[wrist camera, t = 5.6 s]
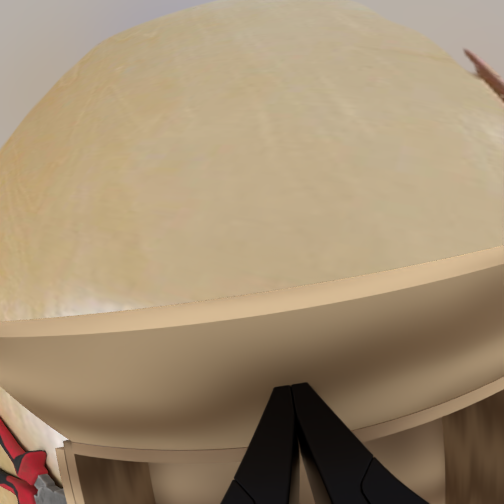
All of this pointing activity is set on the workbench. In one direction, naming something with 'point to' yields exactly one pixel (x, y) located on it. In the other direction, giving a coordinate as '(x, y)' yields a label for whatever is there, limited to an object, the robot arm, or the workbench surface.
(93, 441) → the far flap
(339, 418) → the robot arm
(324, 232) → the workbench surface
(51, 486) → the pliers
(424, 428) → the carton
